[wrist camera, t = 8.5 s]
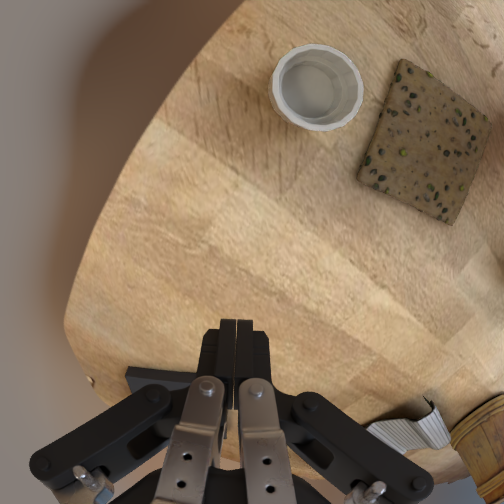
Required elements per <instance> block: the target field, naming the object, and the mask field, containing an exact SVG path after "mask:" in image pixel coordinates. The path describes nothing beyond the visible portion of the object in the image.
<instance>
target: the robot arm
mask: <svg viewBox="0 0 504 504" xmlns="http://www.w3.org/2000/svg"><path fill="white" fill-rule="evenodd" d="M235 352H236V354H235ZM234 370H235V372H234ZM233 389H234V410H238V435H239V451H240V469H235V470H228V471H227V470H223V469H220V468H219V467H220V456H221V450H222V444H223V438H224V432H225V425H226V420H227V410H228V409H232V408H233ZM286 444H287V445H288V446H289V447H290V448H291V449H292V450H293V451H294V452H295V453H296V454H297V455H299V456H300V457H301V458H302V459H303V460H304V461H305V462H306V463H308V464H309V465H310V466H311V467H312V468H313V469H315V470H316V471H317V472H318V473H319V474H320V475H322V476H323V477H324V478H325V479H326V480H328V481H329V482H330V483H331V484H333V485H334V486H335V487H337V488H338V489H339V490H340V491H342V492H343V493H344V494H345V495H346V497H345V499H344V504H418V503H419V502H420V501H422V500H423V499H425V498H427V497H428V496H429V495H430V494H431V492H432V490H433V487H434V481H433V478H432V476H431V475H430V474H429V473H428V472H427V471H426V470H424V469H422V468H421V467H419V466H418V465H416V464H415V463H413V462H412V461H410V460H409V459H407V458H406V457H405V456H403V455H402V454H400V453H399V452H397V451H396V450H394V449H393V448H391V447H390V446H389V445H387V444H386V443H384V442H383V441H382V440H380V439H379V438H377V437H376V436H375V435H373V434H372V433H370V432H369V431H368V430H366V429H365V428H364V427H362V426H361V425H360V424H358V423H357V422H356V421H354V420H353V419H352V418H350V417H349V416H348V415H346V414H345V413H344V412H342V411H341V410H340V409H338V408H337V407H336V406H335V405H333V404H332V403H331V402H329V401H328V400H327V399H326V398H324V397H323V396H322V395H320V394H318V393H315V392H303V393H300V394H299V395H297V396H292V395H288V394H285V393H282V392H280V391H279V390H277V389H276V388H275V387H274V385H273V383H272V380H271V366H270V351H269V338H268V337H267V335H266V334H265V332H264V331H253V320H241V319H238V320H237V337H236V319H221V321H220V328H219V329H209V330H208V331H207V332H206V333H205V335H204V336H203V341H202V346H201V352H200V357H199V363H198V368H197V374H196V378H195V380H194V381H193V382H192V383H191V385H189V386H188V387H186V388H183V389H178V390H172V391H169V390H168V389H167V388H166V387H165V386H163V385H160V384H149V385H146V386H144V387H142V388H141V389H139V390H138V391H136V392H134V393H133V394H131V395H130V396H128V397H127V398H125V399H124V400H122V401H120V402H119V403H117V404H116V405H114V406H112V407H111V408H109V409H108V410H106V411H104V412H103V413H101V414H100V415H98V416H96V417H95V418H93V419H91V420H90V421H88V422H86V423H85V424H83V425H81V426H80V427H78V428H76V429H75V430H73V431H71V432H70V433H68V434H66V435H65V436H63V437H61V438H59V439H58V440H56V441H54V442H52V443H51V444H49V445H47V446H45V447H44V448H42V449H40V450H38V451H36V452H35V453H34V454H33V455H32V456H31V458H30V462H29V467H30V470H31V472H32V474H33V475H34V476H35V477H36V478H37V479H38V480H40V481H41V482H42V483H43V484H44V485H45V486H46V487H47V488H49V489H50V490H51V491H52V492H53V494H54V495H55V497H56V498H57V500H58V501H59V503H60V504H106V503H107V502H108V501H109V500H110V499H111V498H112V497H113V495H114V486H113V484H114V483H115V482H117V481H118V480H120V479H121V478H123V477H124V476H126V475H127V474H129V473H130V472H132V471H133V470H135V469H136V468H137V467H139V466H140V465H142V464H143V463H145V462H146V461H147V460H149V459H150V458H151V457H153V456H154V455H156V454H157V453H158V452H160V451H161V450H162V449H164V448H165V447H166V446H168V445H169V446H168V449H167V453H166V457H165V460H164V463H163V467H162V468H160V469H157V470H155V471H153V472H151V473H149V474H148V475H146V476H145V477H144V478H142V479H141V480H140V481H138V482H137V483H136V484H135V485H133V486H132V487H131V488H129V489H128V490H126V491H125V492H124V493H122V494H121V495H120V496H118V497H117V498H115V499H114V500H113V501H111V502H110V503H108V504H331V503H330V502H329V501H328V500H327V499H326V498H324V497H323V496H322V495H321V494H320V493H319V492H318V491H317V490H316V489H315V488H313V487H312V486H311V485H310V484H309V483H308V482H306V481H305V480H304V479H302V478H300V477H298V476H296V475H294V474H292V473H291V468H290V462H289V456H288V450H287V445H286Z"/></svg>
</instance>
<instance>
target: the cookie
mask: <svg viewBox="0 0 504 504" xmlns="http://www.w3.org/2000/svg"><path fill="white" fill-rule="evenodd" d="M394 75H395V77H394V80H393V83H391V88H390V91H389V94H388V97H387V98H386V99H385V106H384V109H383V111H382V113H380V115H379V121H378V124H377V127H376V131H375V134H374V136H373V139H372V141H371V143H370V146H369V149H368V151H367V153H366V154H365V159H364V162H363V164H362V165H361V166H360V171H359V173H358V176H357V180H358V181H359V182H361V183H363V184H366V185H367V186H369V187H371V188H373V189H375V190H379V191H381V192H383V193H385V194H389V195H390V196H392V197H394V198H396V199H397V200H400V201H403V202H406V203H408V204H410V205H412V206H413V207H416V208H418V210H419V211H422V212H423V211H424V212H425V213H427V214H429V215H431V216H432V217H434V218H436V219H437V220H441V221H442V222H445V223H447V224H448V225H450V226H453V224H454V222H455V220H456V218H457V216H458V214H459V212H460V210H461V207H462V205H463V203H464V200H465V198H466V196H467V195H468V191H469V188H470V186H471V183H472V181H473V179H474V175H475V173H476V171H477V168H478V165H479V162H480V160H481V158H482V154H483V151H484V148H485V145H486V143H487V139H488V136H489V133H490V129H491V128H492V124H491V123H490V122H489V121H488V119H487V117H486V116H485V115H482V114H481V113H480V112H479V111H478V110H476V109H475V107H474V106H472V105H470V104H469V103H467V102H466V101H465V100H464V99H462V98H461V97H460V96H459V95H458V94H456V93H455V92H453V91H452V90H451V89H450V88H449V87H447V86H446V85H444V84H443V83H442V82H441V81H439V80H437V79H436V78H435V77H434V76H433V75H432V74H431V73H430V72H428V71H424V70H423V69H421V68H420V67H418V66H416V65H414V64H413V63H412V62H410V61H408V60H406V59H401V60H400V62H399V64H398V68H397V71H396V72H395V73H394Z"/></svg>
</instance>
